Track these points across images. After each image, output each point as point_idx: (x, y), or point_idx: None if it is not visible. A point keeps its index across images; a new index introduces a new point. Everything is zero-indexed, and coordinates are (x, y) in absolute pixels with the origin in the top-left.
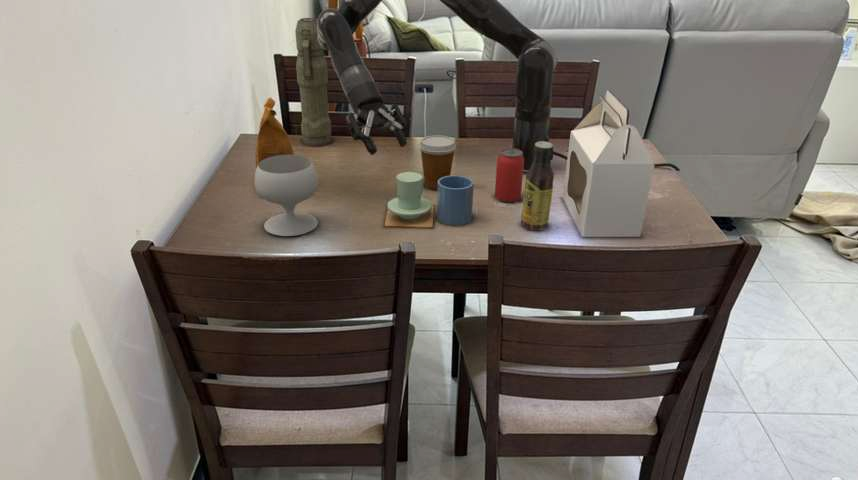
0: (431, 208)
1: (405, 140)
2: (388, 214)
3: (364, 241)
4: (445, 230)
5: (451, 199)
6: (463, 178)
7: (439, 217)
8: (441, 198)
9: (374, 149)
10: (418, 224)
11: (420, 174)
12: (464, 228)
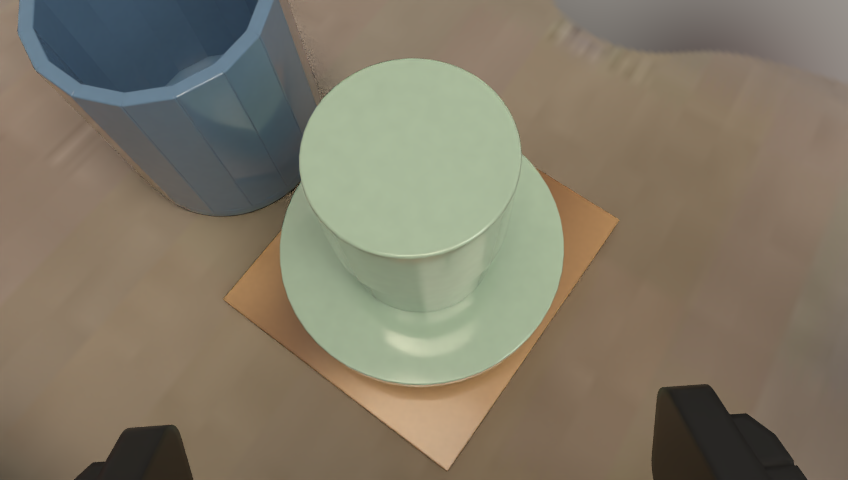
0: (265, 265)
1: (126, 441)
2: None
3: (784, 141)
4: (362, 46)
5: None
6: (39, 38)
7: None
8: (295, 38)
9: (709, 387)
10: None
11: (303, 146)
12: None
